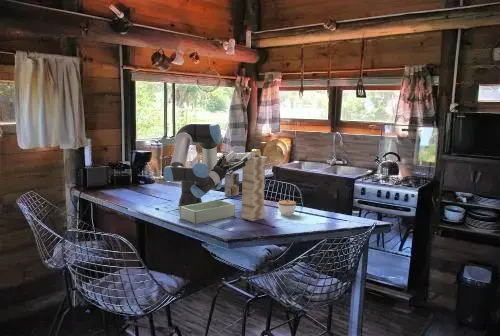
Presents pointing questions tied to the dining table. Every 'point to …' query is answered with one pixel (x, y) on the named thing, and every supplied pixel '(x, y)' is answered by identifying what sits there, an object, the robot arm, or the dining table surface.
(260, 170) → the stand
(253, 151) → the strut
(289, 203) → the lidded jar
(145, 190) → the dining table surface
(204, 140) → the robot arm
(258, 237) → the dining table surface
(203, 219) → the bin
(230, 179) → the coffee box
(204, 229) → the dining table surface
